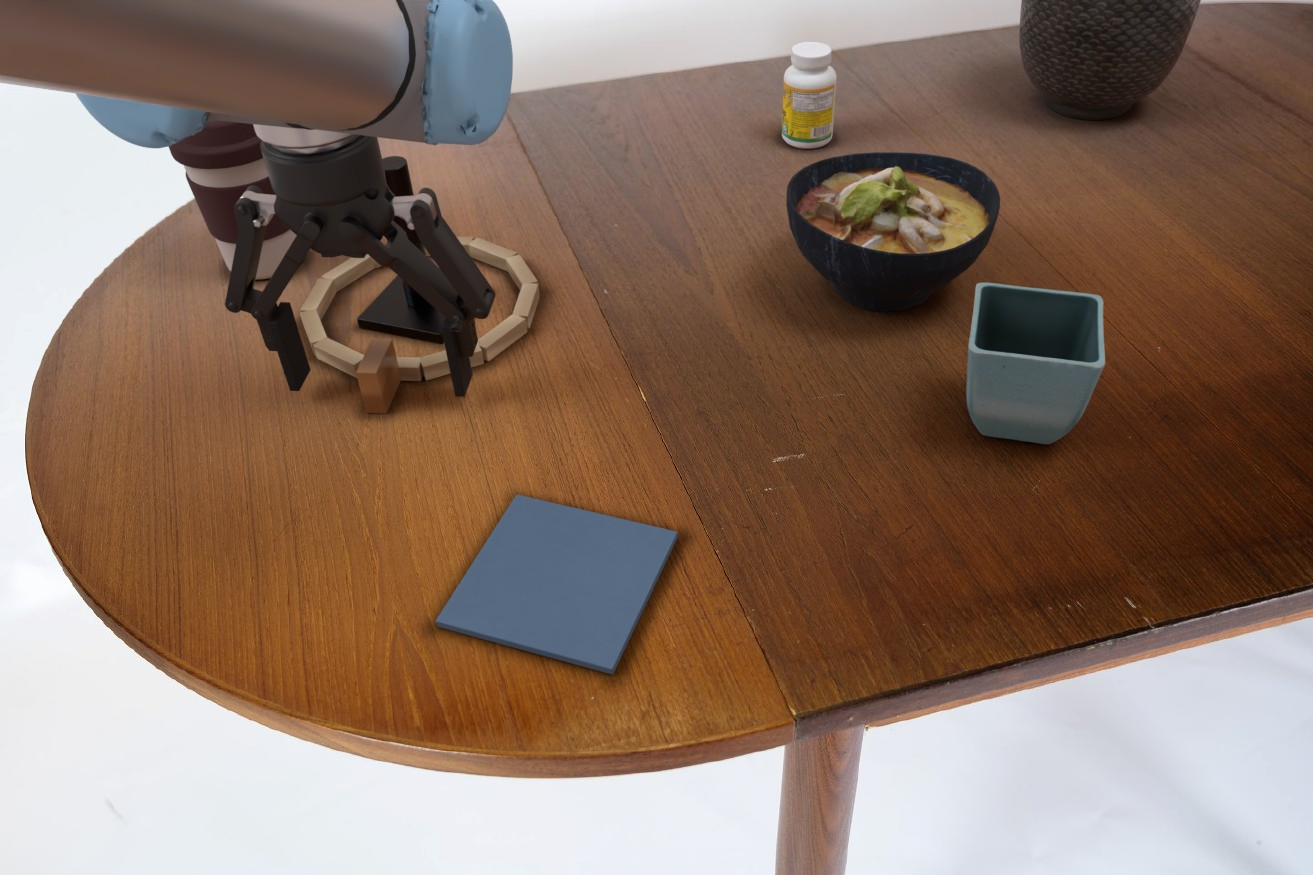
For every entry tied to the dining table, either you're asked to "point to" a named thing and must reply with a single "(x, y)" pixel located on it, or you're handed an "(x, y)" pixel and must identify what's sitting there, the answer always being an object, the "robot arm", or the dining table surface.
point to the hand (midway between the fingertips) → (381, 383)
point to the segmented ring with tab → (380, 363)
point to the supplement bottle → (809, 96)
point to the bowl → (891, 223)
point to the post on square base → (399, 301)
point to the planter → (1101, 51)
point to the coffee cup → (230, 186)
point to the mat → (560, 583)
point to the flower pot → (1032, 360)
